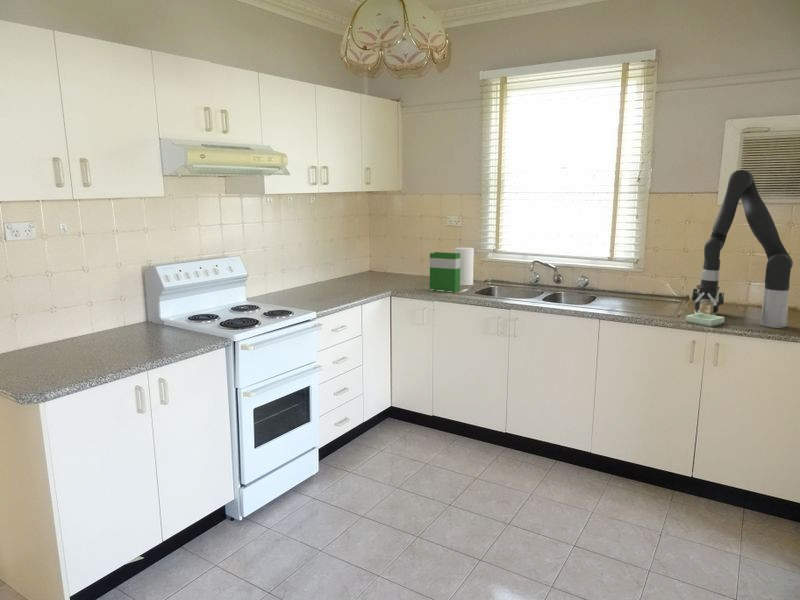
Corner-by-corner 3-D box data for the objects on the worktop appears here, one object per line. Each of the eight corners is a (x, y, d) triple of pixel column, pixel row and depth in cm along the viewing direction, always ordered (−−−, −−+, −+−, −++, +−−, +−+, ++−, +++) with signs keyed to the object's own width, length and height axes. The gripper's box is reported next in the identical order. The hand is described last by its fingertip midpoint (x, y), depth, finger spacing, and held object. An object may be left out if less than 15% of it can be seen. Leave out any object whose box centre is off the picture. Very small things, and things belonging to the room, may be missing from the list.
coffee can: (689, 312, 288) (691, 285, 285) (704, 310, 291) (707, 284, 288) (705, 316, 278) (708, 288, 275) (721, 314, 281) (724, 287, 278)
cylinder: (472, 286, 368) (473, 249, 363) (453, 286, 370) (454, 248, 365) (473, 283, 380) (474, 247, 375) (455, 283, 382) (455, 247, 377)
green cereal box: (429, 290, 355) (429, 253, 350) (434, 288, 361) (434, 252, 356) (455, 292, 346) (455, 254, 342) (459, 291, 353) (460, 253, 348)
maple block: (714, 318, 273) (715, 304, 272) (708, 319, 271) (710, 305, 269) (704, 316, 278) (705, 302, 276) (698, 317, 275) (699, 303, 274)
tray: (724, 323, 262) (724, 317, 262) (710, 326, 256) (711, 320, 255) (698, 318, 272) (699, 312, 272) (685, 321, 266) (685, 315, 265)
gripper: (729, 280, 267) (724, 313, 270) (699, 276, 278) (695, 307, 282) (720, 281, 263) (716, 315, 266) (691, 277, 274) (687, 309, 278)
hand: (706, 311), depth 274 cm, fingers open, 8 cm apart
